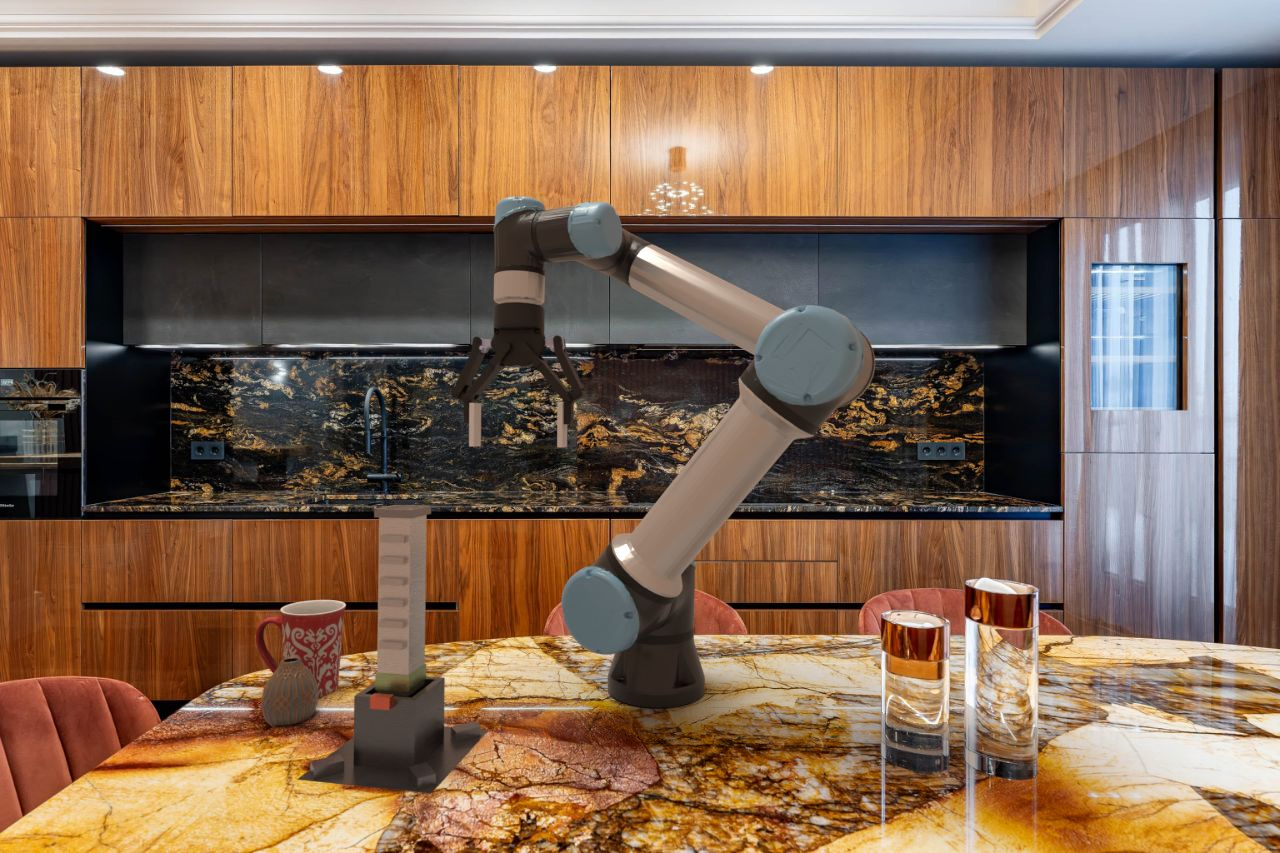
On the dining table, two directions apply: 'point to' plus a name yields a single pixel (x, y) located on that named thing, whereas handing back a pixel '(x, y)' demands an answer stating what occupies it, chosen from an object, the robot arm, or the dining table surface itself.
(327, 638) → the mug
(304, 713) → the vase
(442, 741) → the stand base
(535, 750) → the dining table surface
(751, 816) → the dining table surface
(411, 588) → the column
